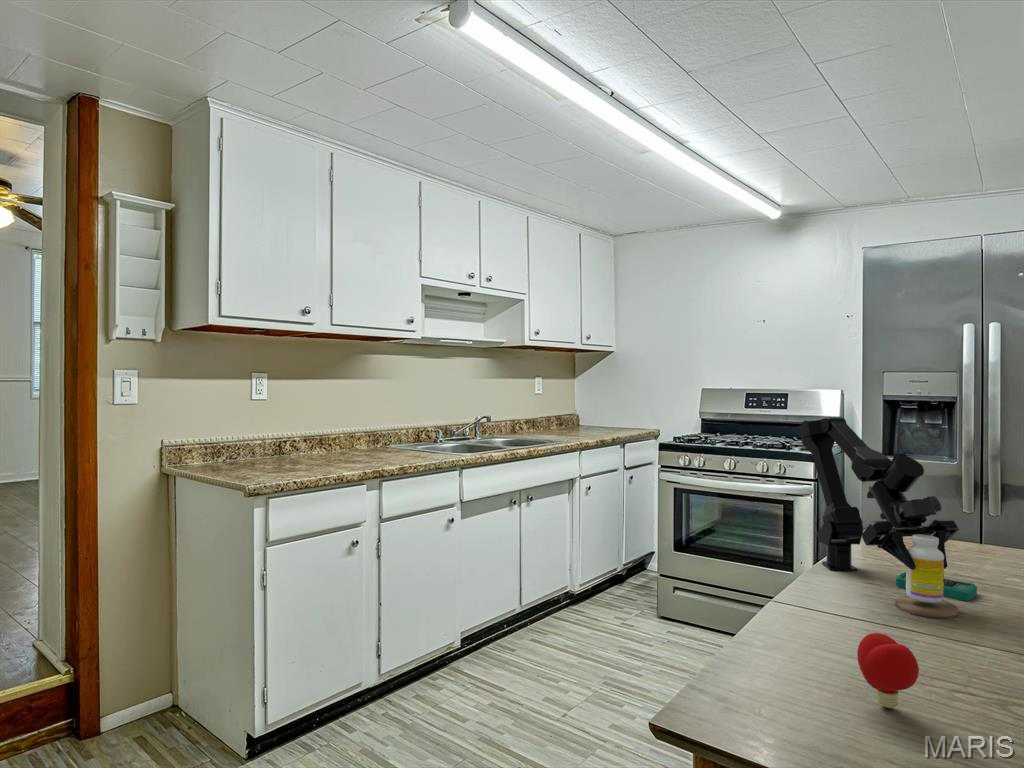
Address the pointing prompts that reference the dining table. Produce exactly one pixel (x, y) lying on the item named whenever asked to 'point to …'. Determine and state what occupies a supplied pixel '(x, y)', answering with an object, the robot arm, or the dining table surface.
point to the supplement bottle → (925, 570)
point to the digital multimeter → (948, 588)
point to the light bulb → (887, 667)
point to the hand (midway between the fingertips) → (929, 568)
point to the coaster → (926, 607)
